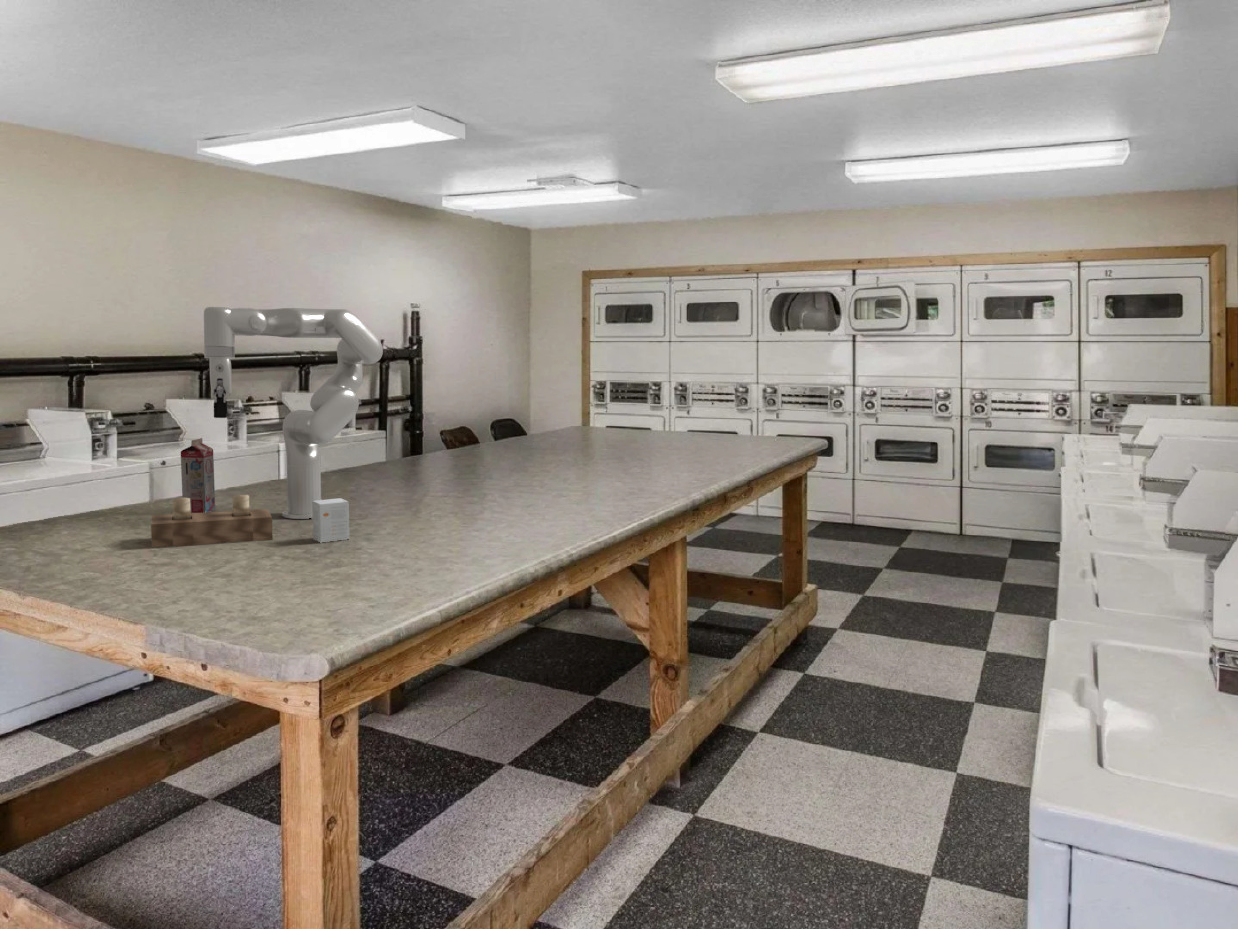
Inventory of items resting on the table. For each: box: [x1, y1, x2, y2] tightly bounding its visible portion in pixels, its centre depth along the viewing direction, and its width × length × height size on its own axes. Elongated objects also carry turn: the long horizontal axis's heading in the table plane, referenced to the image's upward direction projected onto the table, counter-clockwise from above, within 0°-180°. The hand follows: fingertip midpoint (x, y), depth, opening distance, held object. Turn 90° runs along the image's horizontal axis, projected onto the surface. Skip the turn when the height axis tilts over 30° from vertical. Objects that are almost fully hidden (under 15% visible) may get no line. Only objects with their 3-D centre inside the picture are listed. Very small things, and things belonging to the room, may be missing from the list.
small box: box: [311, 497, 350, 544], centre depth 230 cm, size 8×6×10 cm
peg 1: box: [172, 497, 191, 520], centre depth 223 cm, size 4×4×6 cm
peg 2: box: [231, 494, 250, 517], centre depth 230 cm, size 4×4×6 cm
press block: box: [150, 508, 274, 549], centre depth 227 cm, size 28×12×6 cm, turn 117°
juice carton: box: [180, 437, 216, 513], centre depth 260 cm, size 7×7×22 cm
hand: (220, 416), depth 237 cm, fingers open, 9 cm apart
